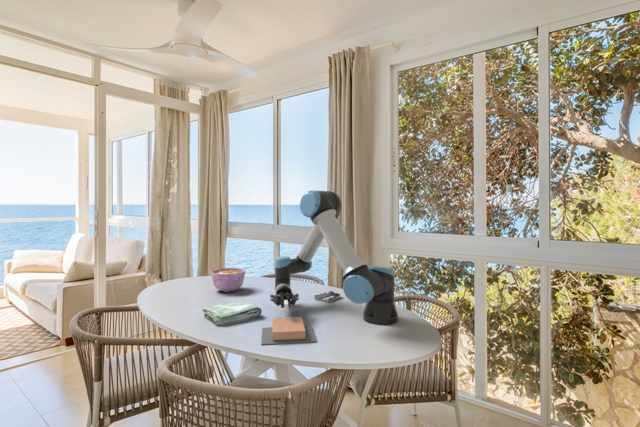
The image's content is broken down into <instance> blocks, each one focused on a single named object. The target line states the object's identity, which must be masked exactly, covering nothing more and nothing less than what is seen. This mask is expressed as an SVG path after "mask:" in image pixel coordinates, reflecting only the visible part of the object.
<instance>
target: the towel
mask: <svg viewBox="0 0 640 427" xmlns="http://www.w3.org/2000/svg"><path fill="white" fill-rule="evenodd" d="M202 313H203V317H204V318H207V319H208V320H210V321H211V322H213V323H215V325H217V326H224V325H225V326H226V325H230V323H231V324H235V323H239V322H244V321H248V320H253V319H255V318H258V317H259V316H261V314H262V308H261V307H259V306H256V305H253V304H250V303H248V302H245V301H234V302H229V303H222V304H217V305H213V306H212V305H211V306H209V307H208V306H207V307H205V308H202Z"/></svg>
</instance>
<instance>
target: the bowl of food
mask: <svg viewBox="0 0 640 427" xmlns="http://www.w3.org/2000/svg"><path fill="white" fill-rule="evenodd" d="M210 275H211V280H212V282H213V286H214V287H215V289H216V290H219V291H220V292H222V291H224V292H223V293H230V292H229V291H233V292H235V291H234V290H239V289H240V288H241V287H242V285H243V284H244V281H245V280H244V279H245V277H246V276H245V275H246V269H245V268H239V267H227V268H226V267H223V268H217V269H213V270H210Z"/></svg>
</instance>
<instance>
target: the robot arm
mask: <svg viewBox="0 0 640 427" xmlns="http://www.w3.org/2000/svg"><path fill="white" fill-rule="evenodd" d="M342 205H343V203H342V199H341V198H340V195H338V193H336V192H335V191H330V190H327V191H326V190H316V189H314V190H308V191H305V192H304V193H303V195H302V196H301V198H300V202H299V210H300V213H301V214H302V215H303V216H304V217H307V218H309V219H310V220H311V222H312V224H313V225H312V228H311V230H310V231H309V233H308V235H307V237H306V239H305V241H304V243H303V245H302V246H301V248H300V251H298V252H299V253H298V254H297V255H296V258H292V259H291V257H290V256H286V255H284V256H283V255H282V256H277V257H276V258H275V261H274V262H275V263H274V264H275V265H274V268H275V269H274V270H275V272H274V274H275V275H274V277H275V279H274V291H275V294H270V295H269V296H270V297H269V298H270V299H269V300H270V301H271V302H272V303H274V305H276V306H277V307H279V306H280V308H282V309H284V311H285V312H289V308H290V307H291V306H295V304H296V303H297V301H299V300H300V299H299V297H300V296H299V293H296V294H294V293H293V291H292V289H291V278H292V277H291V276H292V275H294V274H300V273H305V272H308V271H310V270H312V269H311V268H312V266H313V262H312V260H313V258H314V256H315V254H316V253H317V251H318V250H319V247H320V246H321V244H322V242H323V241H324V239H325V240H326V243H327V245H328V246H329V249H330V250H331V252H332V253H333V255H334V257H335V259H336V261H337V263H338V265H339V267H340V269H341V270H342V277H341V278H342V281H343V284H342V286H343V287H342V290H343V293H344V295H345V297H346V298H347V300H349V301H350V302H351V303H354V304H358V305H359V304H360V305H361V304H365V307H364V311H363V314H362V316H363V317H362V318H363V320H364V321H365V322H367V323H370V324H376V325H392V324H395V323H397V322H398V321H399V314H398V311H397V307H396V304H395V277H396V276H395V270H394V269H393V268H392V267H388V266H379V265H377V266H376V265H368V264H367V263H365V262H362V260H360V258H359V256H358V254H357V252H356V250H355V249H354V247H353V246H352V243H351V242H350V239H349V238H348V237H347V235H346V233H345V231H344V230H343V227H342V226H341V224H340V223H339V221H338V219H339V217H340V215H341V213H342V209H343V208H342V207H343V206H342Z"/></svg>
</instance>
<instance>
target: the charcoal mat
mask: <svg viewBox="0 0 640 427" xmlns="http://www.w3.org/2000/svg"><path fill="white" fill-rule="evenodd" d="M304 327H305V339H299V340H279V341H274V340H273V336H272V327H271V326H269V327H268V326H267V327H262V330H261V344H260V346H266V345H267V346H271V345H285V344H286V345H288V344H304V343H306V344H310V343H318V340H317V338H316V335H315V332H314V329H313V326H312V324H311V325H304Z"/></svg>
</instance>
